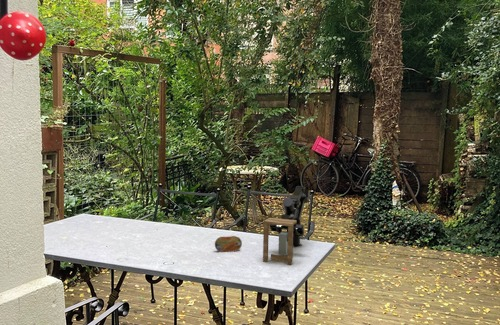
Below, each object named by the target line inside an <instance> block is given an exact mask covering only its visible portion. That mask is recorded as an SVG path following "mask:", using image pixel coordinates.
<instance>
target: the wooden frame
mask: <svg viewBox="0 0 500 325" xmlns="http://www.w3.org/2000/svg"><path fill="white" fill-rule="evenodd" d="M296 223H297V220H288V219H281V218H275V217H268V218H267V219H265V220H263V235H262V236H263V238H262V239H263V242H262V244H263V245H262V246H263V247H262V262H264V263H268V262H269V236H270V235H269V234H270V233H269V232H270V230H269V229H270V226H269V225H270V224H274V225H284V226H288V253H287V255H280V254H275V253H271V254H270V261H272V262H273V261H276V262H283V263H286V264H287V266H292V265H293V255H294V250H293V249H294V247H293V225H294V224H296Z"/></svg>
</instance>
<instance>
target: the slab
mask: <svg viewBox="0 0 500 325" xmlns="http://www.w3.org/2000/svg"><path fill="white" fill-rule="evenodd" d="M287 240H288V232H287V231H284V230H282V232H281V233H278V252H277V253H278V254H277V255H283V256H287V255H288V242H287Z"/></svg>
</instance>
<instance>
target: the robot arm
mask: <svg viewBox="0 0 500 325" xmlns="http://www.w3.org/2000/svg"><path fill="white" fill-rule="evenodd" d="M310 197H311V192H310V190H309V189H307V188H306V187H305V186H301V185H297V186H295V190H294V191H293V193H292V195H290V196H289V195H288V196H287V197H285V198H284V199H283V200H282V202H281V203H282V206H283V210H284V211H285V212H284V214H281V216H280V219H288V220H297V223H296V224H294V225H293V246H294V247H295V248H297V247H301V246H302V245H303V244H302V243H301V237H303V236H304V234H305V226H304V224H302V222H301V218H302V214H303V210H304V206H305V204H306V203H307V202H308V201H309V198H310ZM269 229H270V231H272V232H276V233H278V234H279V233H281V232H282V231H283V230H286V232H288V226H284V225H274V224H269ZM287 242H288V240H287ZM300 245H301V246H300ZM294 247H293V248H294Z"/></svg>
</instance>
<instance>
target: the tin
mask: <svg viewBox="0 0 500 325" xmlns="http://www.w3.org/2000/svg"><path fill="white" fill-rule="evenodd" d="M242 241H243V240H242V239H241V238H240V237H238V236H235V235H230V236H219V237H218V238H216V240H215V241H214V247H215V249H216V251H218V252H220V253H228V252H229V253H232V252H237V251H239V250H240V249H241V248H242V244H243V242H242Z"/></svg>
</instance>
